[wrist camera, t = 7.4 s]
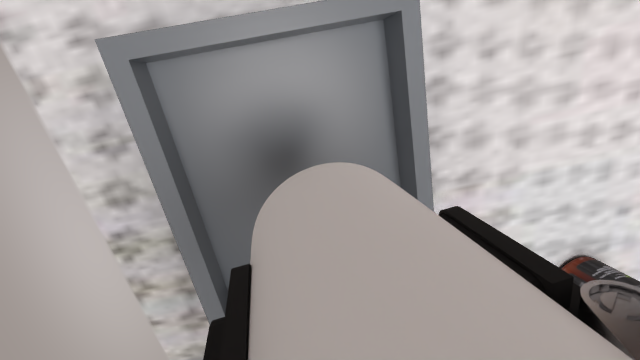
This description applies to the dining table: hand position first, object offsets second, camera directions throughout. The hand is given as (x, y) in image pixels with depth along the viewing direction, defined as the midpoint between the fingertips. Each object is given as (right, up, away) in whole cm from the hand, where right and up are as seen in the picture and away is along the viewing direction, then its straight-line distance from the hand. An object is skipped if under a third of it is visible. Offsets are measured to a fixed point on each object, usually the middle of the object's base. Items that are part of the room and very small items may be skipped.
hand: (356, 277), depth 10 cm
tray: (-3, +4, +14) cm, 15 cm away
